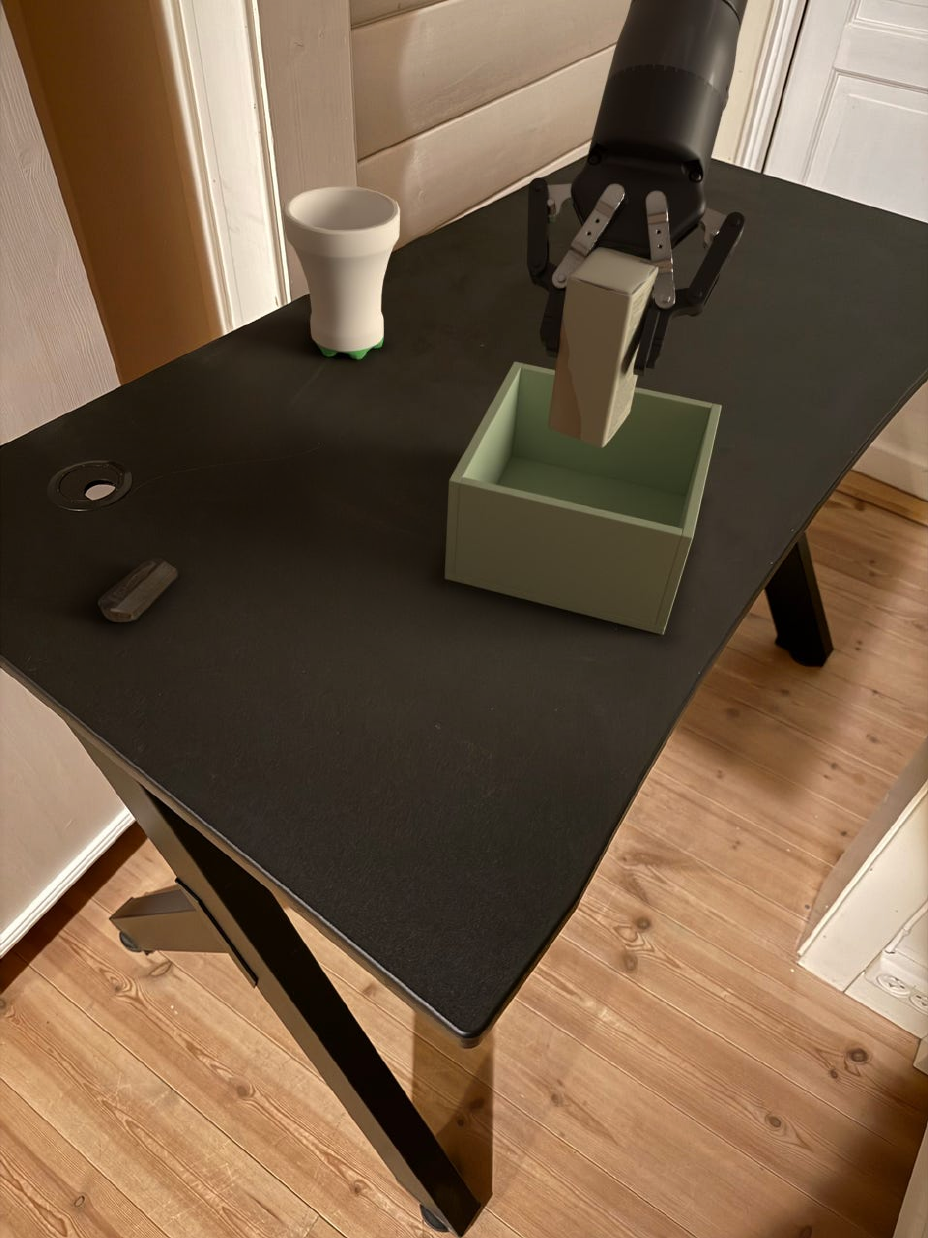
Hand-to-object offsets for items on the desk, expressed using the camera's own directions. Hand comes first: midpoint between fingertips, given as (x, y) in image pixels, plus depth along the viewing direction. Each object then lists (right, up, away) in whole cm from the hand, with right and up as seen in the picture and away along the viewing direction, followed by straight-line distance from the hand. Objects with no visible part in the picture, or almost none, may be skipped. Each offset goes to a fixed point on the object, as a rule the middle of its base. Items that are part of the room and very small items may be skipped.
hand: (595, 362), depth 57 cm
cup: (-21, +13, +39) cm, 46 cm away
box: (0, -3, +5) cm, 6 cm away
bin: (+1, -9, +19) cm, 21 cm away
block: (-33, -15, +12) cm, 38 cm away
